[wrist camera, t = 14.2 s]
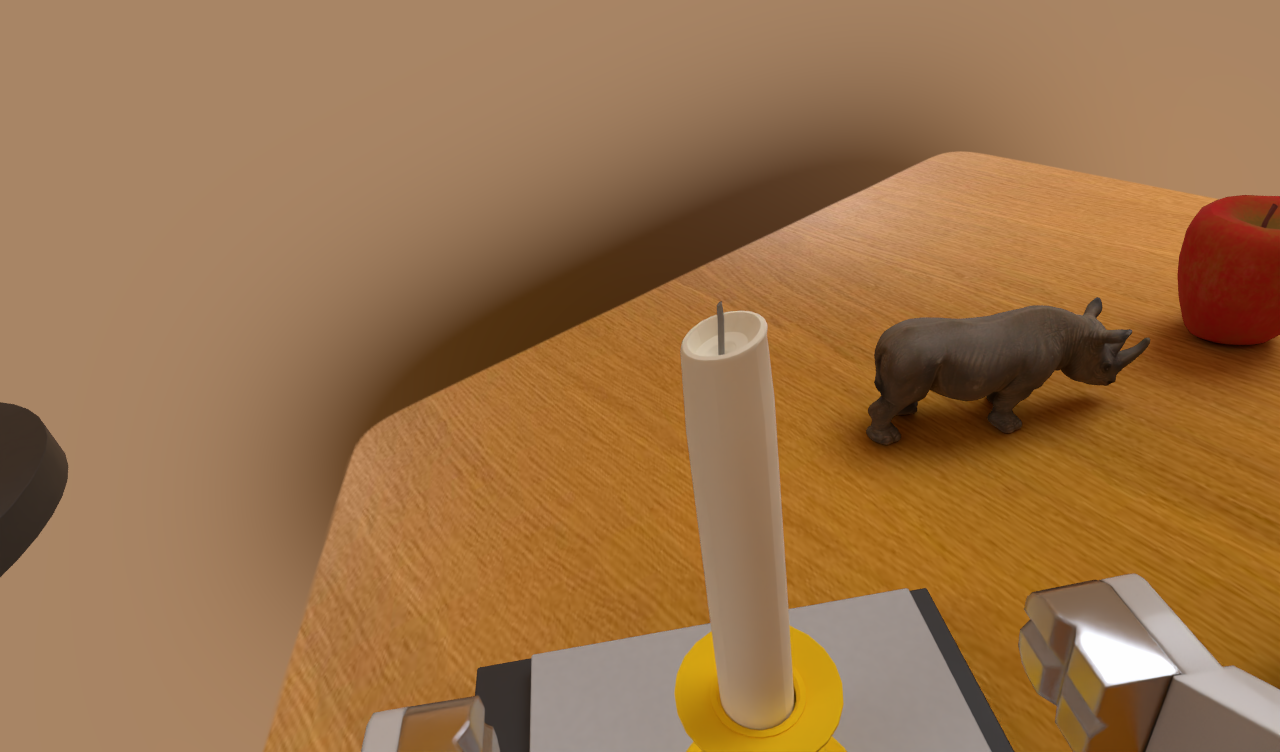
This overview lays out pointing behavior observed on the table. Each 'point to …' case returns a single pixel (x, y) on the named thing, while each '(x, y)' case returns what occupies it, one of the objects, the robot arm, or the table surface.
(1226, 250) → the apple
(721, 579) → the candle
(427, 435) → the table surface
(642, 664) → the scale
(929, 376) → the rhino figurine
